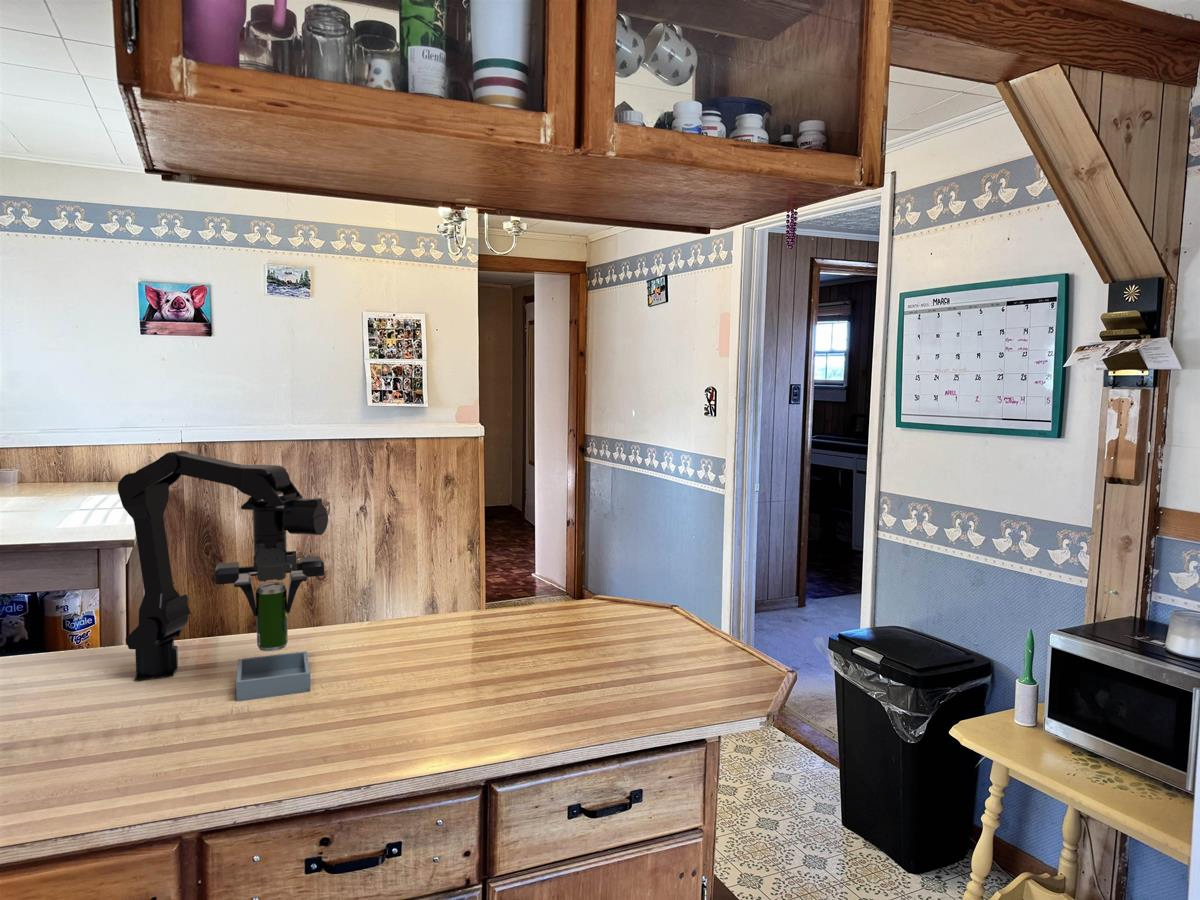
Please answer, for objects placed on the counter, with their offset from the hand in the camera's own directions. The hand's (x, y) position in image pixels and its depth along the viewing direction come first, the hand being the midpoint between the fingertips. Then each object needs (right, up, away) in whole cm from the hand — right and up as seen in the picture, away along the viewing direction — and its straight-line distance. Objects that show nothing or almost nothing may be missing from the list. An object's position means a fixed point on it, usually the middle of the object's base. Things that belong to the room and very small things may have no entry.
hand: (271, 614), depth 147 cm
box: (0, -13, 0) cm, 13 cm away
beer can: (0, -7, +1) cm, 7 cm away
